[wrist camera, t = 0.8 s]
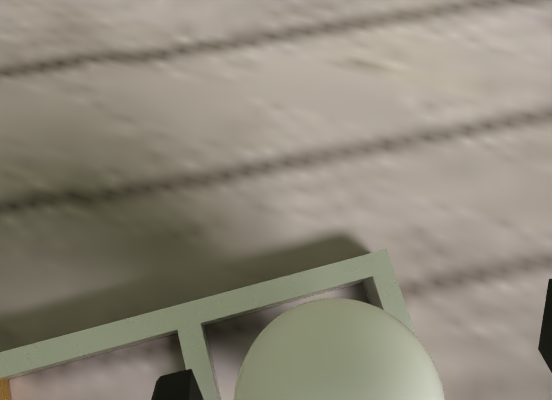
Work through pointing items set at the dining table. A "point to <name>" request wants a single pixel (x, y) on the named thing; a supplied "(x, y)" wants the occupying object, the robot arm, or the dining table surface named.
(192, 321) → the rack
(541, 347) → the robot arm
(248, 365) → the lightbulb
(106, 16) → the dining table surface
